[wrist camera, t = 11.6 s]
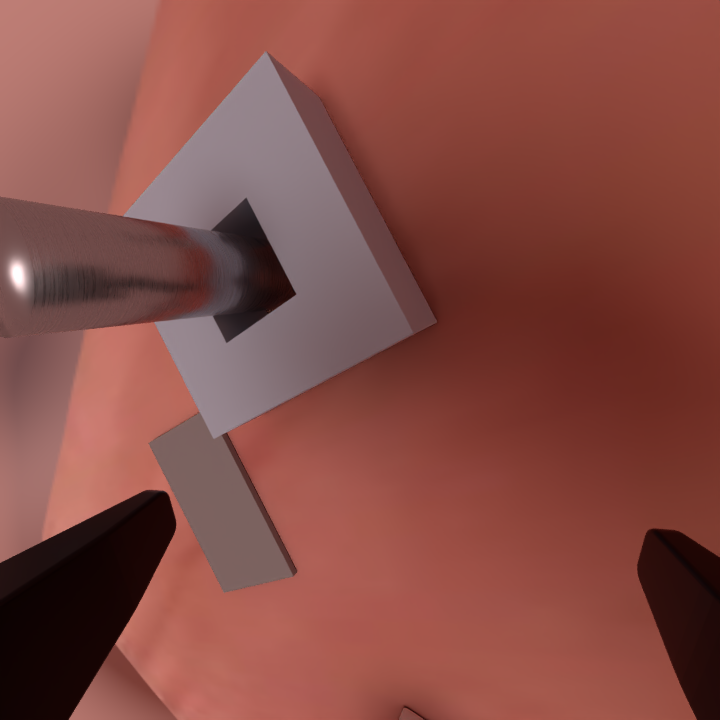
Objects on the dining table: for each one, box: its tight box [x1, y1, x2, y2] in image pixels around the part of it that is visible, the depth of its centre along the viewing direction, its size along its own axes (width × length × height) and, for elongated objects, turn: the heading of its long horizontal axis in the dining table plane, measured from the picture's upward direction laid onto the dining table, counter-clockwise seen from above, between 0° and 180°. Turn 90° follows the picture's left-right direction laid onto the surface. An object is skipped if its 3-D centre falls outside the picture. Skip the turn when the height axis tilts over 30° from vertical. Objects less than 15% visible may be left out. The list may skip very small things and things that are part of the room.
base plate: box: [149, 413, 297, 593], centre depth 26 cm, size 12×7×1 cm, turn 30°
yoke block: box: [123, 51, 437, 439], centre depth 19 cm, size 12×12×4 cm
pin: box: [0, 197, 297, 338], centre depth 15 cm, size 3×3×12 cm
